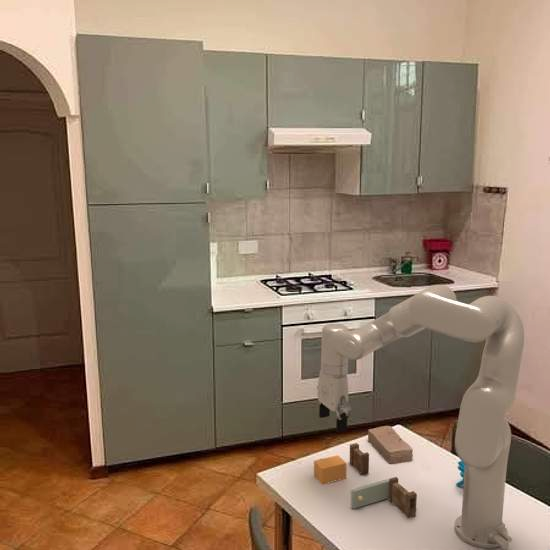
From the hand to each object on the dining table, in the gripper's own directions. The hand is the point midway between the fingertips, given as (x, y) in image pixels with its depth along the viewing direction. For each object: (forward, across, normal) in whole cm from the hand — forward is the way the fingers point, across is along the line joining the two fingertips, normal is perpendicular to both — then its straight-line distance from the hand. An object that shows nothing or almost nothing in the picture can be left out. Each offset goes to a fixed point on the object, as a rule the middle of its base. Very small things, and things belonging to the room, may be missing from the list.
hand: (332, 423), depth 167 cm
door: (+16, +16, +4) cm, 23 cm away
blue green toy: (+17, +22, +33) cm, 43 cm away
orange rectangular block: (+17, -1, 0) cm, 17 cm away
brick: (+18, -6, +25) cm, 31 cm away
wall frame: (+17, +11, +10) cm, 22 cm away
